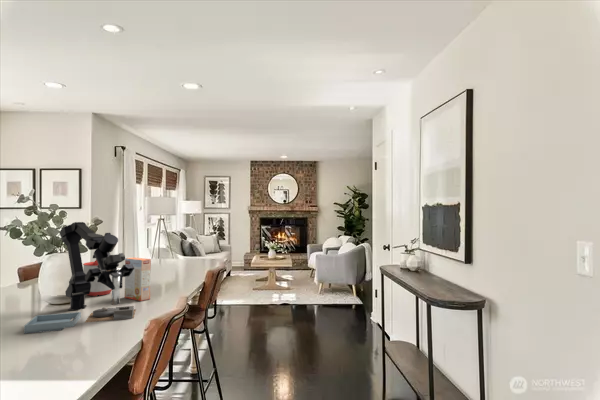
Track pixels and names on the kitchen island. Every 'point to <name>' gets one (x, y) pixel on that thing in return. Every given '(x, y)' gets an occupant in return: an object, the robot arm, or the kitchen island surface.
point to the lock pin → (116, 287)
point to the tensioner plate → (112, 314)
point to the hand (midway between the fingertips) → (117, 288)
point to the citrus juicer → (96, 286)
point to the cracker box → (138, 279)
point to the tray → (51, 322)
